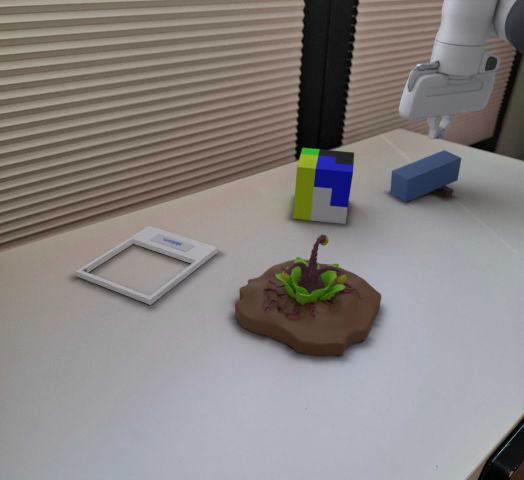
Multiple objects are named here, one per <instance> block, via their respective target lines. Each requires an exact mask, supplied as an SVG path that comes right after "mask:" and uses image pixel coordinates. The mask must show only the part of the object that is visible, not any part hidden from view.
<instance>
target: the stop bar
mask: <svg viewBox="0 0 524 480" xmlns="http://www.w3.org/2000/svg"><path fill="white" fill-rule="evenodd" d="M432 192H433V193H435V194H436V195H439V196H440V197H442V198H444V199H447V198H451V197H453V194H454V192H455V189H454V188H452V187H449V186H448V185H445V186H443V187H441V188H438V189H436V190H434V191H432Z"/></svg>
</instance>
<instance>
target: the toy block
mask: <svg viewBox="0 0 524 480" xmlns="http://www.w3.org/2000/svg"><path fill="white" fill-rule="evenodd" d="M461 163H462V157H460V156H458V155H456V154H454V153H452V152H449V151H447V150H446V149H443V150H441V151H438V152H436V153H434V154H431V155H428V156H426V157H423V158H421V159H418V160H415V161H413V162H411V163H407V164H406V165H403V166H400V167H398V168H396V169H393V170H391V178H390V190H389V191H390V192H389V194H391V195H393V196H395V197H396V198H398V199H399V200H401V201H402V202H405V203H407V202H410V201H413V200H414V199H417V198H419V197H422V196H424V195H426V194H429V193H431V192H433V191H434V190H436V189H438V188H441V187H443V186H445V185H446V186H448V185H450V184H452V183H455V182H457V181H459V175H460V169H461Z"/></svg>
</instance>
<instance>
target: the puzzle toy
mask: <svg viewBox="0 0 524 480" xmlns="http://www.w3.org/2000/svg"><path fill="white" fill-rule="evenodd" d="M297 162H298V163H297V165H296V177H295V188H294V189H295V190H294V200H293V201H294V202H293V215H292V219H293V220H303V221H311V222H312V221H313V222H314V221H315V222H320V223H321V222H322V223H331V224H332V223H334V224H342V225H346V222H347V215H348V209H349V202H350V196H351V188H352V182H353V175H354V164H355V152H353V151H344V150H343V151H342V150H331V149H320V148H307V147H302V149H301V152H300V155H299V158H298V161H297Z"/></svg>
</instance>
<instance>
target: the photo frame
mask: <svg viewBox="0 0 524 480" xmlns="http://www.w3.org/2000/svg"><path fill="white" fill-rule="evenodd" d="M132 245H135V246H138V247H142V248H145V249H147V250H150V251H153V252H157V253H160V254H162V255H164V256H165V255H166V256H167V257H171V258H174V259H177V260H180V261H182V262H185V263H189V265H188V266H187V267H186V268H184V269H183V270H182V271H180V272H179V273H178V274H176V275H175V276H174V277H173V278H170V280H169V281H167V282H166V283H165V284H164V285H162V286H161V287H159V288H158V289H157V290H155V291H154V292H153V293H151V294H150V295H147V294H144V293H142V292H139V291H136V290H135V289H131V288H129V287H127V286H123V285H121V284H118V283H116V282H114V281H110V280H108V279H106V278H103V277H100V276H97V275H95V274H93V273H89V272H91V271H93V270H95V268H97V267H99V266H100V265H102V264H103V263H105V262H107V261H108V260H110V259H111V258H113V257H114V256H116V255H118V254H119V253H121V252H123V251H125V250H126V249H127V248H129V247H130V246H132ZM218 251H219V249H218V247H217V246H214V245H211V244H208V243H205V242H202V241H198V240H195V239H192V238H189V237H186V236H183V235H180V234H177V233H174V232H170V231H167V230H164V229H161V228H158V227H154V226H151V225H148V226H146V227H145V228H143V229H141V230H140V231H138V232H137V233H135V234H134V235H132V236H130V237H128V238H127V239H125V240H124V241H122V242H120V243H119V244H117V245H115V246H114V247H113V248H111V249H109V250H108V251H106V252H104V253H102V254H101V255H99V256H98V257H96V258H95V259H93V260H91V261H90V262H88V263H87V264H85V265H83V266H81V267H80V268H79V269H77V270H75V275H76V277H77V278H80V279H83V280H85V281H87V282H90V283H93V284H96V285H99V286H101V287H103V288H105V289H109V290H110V291H114V292H116V293H118V294H122V295H123V296H125V297H126V296H127V297H129V298H131V299H134V300H137V301H139V302H142V303H144V304H147V305H149V306H151V305H153V304H154V303H155V302H157V301H158V300H159V299H161V298H162V297H163V296H164V295H166V294H167V293H168V292H169V291H171V290H172V289H173V288H174V287H176V286H177V285H178V284H179V283H181V282H182V281H184V279H186V278H187V277H188V276H190V275H191V274H192V273H194V272H195V271H196V270H197V269H199V268H200V267H201V266H203V265H204V264H205V263H206V262H207V261H209V260H210V259H211V258H213V257H214V256H215V255H217V253H218Z"/></svg>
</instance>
